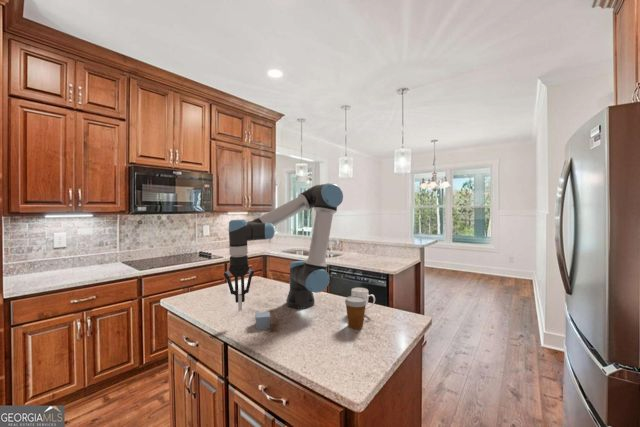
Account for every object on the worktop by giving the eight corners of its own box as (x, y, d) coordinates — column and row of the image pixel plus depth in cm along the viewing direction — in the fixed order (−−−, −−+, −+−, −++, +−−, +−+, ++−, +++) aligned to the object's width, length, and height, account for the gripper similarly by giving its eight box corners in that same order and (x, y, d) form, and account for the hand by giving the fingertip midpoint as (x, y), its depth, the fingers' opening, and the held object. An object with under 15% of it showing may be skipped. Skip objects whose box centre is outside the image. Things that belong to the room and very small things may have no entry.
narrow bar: (275, 317, 135) (275, 310, 135) (278, 331, 119) (278, 323, 119) (269, 318, 134) (269, 310, 134) (270, 332, 118) (271, 323, 118)
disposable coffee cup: (352, 332, 119) (352, 303, 119) (340, 324, 128) (340, 297, 127) (371, 328, 123) (371, 300, 123) (358, 320, 132) (358, 294, 132)
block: (269, 322, 129) (269, 311, 129) (270, 328, 123) (270, 316, 123) (255, 323, 127) (255, 312, 127) (255, 329, 122) (255, 317, 121)
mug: (348, 313, 141) (348, 290, 140) (355, 308, 148) (355, 286, 148) (371, 318, 134) (371, 294, 134) (377, 313, 142) (377, 290, 141)
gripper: (254, 253, 129) (255, 305, 130) (223, 254, 126) (225, 308, 127) (254, 255, 122) (255, 310, 122) (221, 257, 119) (223, 314, 119)
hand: (240, 309), depth 124 cm, fingers closed
